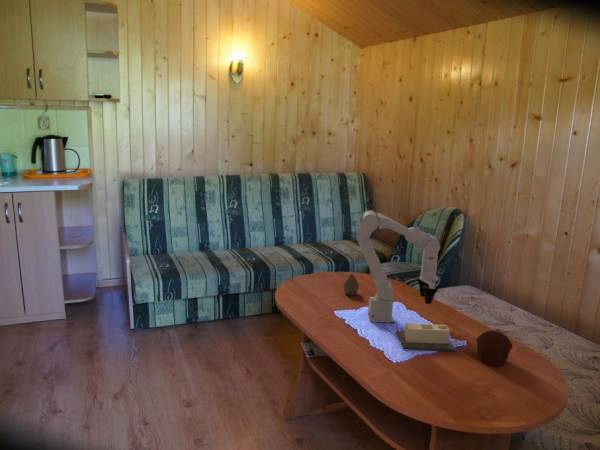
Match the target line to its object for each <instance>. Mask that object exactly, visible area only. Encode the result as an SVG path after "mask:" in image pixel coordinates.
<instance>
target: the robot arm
mask: <svg viewBox="0 0 600 450" xmlns="http://www.w3.org/2000/svg"><path fill="white" fill-rule="evenodd" d="M376 229H378V230H380V229H381V230H382V229H388V230H391V231H393V232H396V233H398V234H400V235H402V236H404V237H405V238H404V239H405V241H407V242H409V243H411V244H413V245H415V246H418V247H420V248H423V253H422V259H421V268H420V269H421V270H420V275H419V277H417V283H418V286H419V288H418V289H419V295H420V297H422V298H424V303H425V304H426V305H431V304H432V302H433V299H434V297H435V295H436V293H437V292H438V291H439V287H438V286H436V281H437V282H438V281H439V278H438V276H437V267H438V261H439V260H438V256H439V251H440V250H441V243H440V241H439V240H438V238H437V237H436V236H434V235H433V234H431V233H429V232H428V233H426V232H425V231H422V230H420V228H419V227H418V226H416V227H413V226H411V227H407V226H405V225H403V224H401V223H400V222H397V221H395V219H392V218H390V217H388V216H386V215H384V214H383V213H380V212H376V211H374V210H370V209H368V210H366V211H364V212H363V213H362V215H361V217H360V219H359V222H358V226H357V233H356V241H357V243H358V245H359V248H360V250H361V253H362V254H363V255H362V256H364V259H365V261H366V263H367V266H368V269H369V270H370V274H371V276H372V277H373V280H374V283H375V286H376V293H375V294H374V296H370V297H369V299H368V308H367V316H369V317H368V319H370V320H369V322H370V321H371V323H390V322H394V323H395V320H394V317H393V309H394V308H393V307H394V306H393V305H394V294H395V293H394V289H393V282H392V281H391V280H390V279H389V278H388V277H387V274H386V272H385V271H384V269H383V267H382V265H381V262H380V260H379V258H378V255H377V251H376V249H375V248H374V246H373V244H372V242H371V239H370V237H371V236H372V233H373V232H374V231H375V230H376Z"/></svg>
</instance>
